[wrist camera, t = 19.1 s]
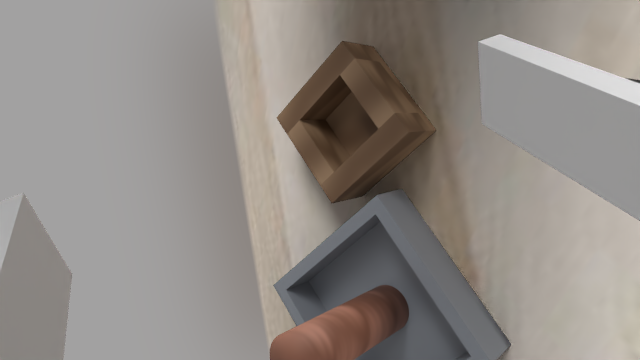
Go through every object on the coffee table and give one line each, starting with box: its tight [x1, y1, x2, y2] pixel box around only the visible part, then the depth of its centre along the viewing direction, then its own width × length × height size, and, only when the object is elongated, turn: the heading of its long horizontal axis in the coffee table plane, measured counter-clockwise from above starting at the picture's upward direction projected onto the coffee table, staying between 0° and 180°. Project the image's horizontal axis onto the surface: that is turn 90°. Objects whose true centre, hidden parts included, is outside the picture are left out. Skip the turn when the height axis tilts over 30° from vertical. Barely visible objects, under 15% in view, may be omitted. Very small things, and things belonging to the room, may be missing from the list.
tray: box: [273, 189, 511, 360], centre depth 49 cm, size 16×16×4 cm
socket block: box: [277, 41, 436, 203], centre depth 49 cm, size 10×10×5 cm
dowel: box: [270, 285, 409, 360], centre depth 45 cm, size 4×4×14 cm
